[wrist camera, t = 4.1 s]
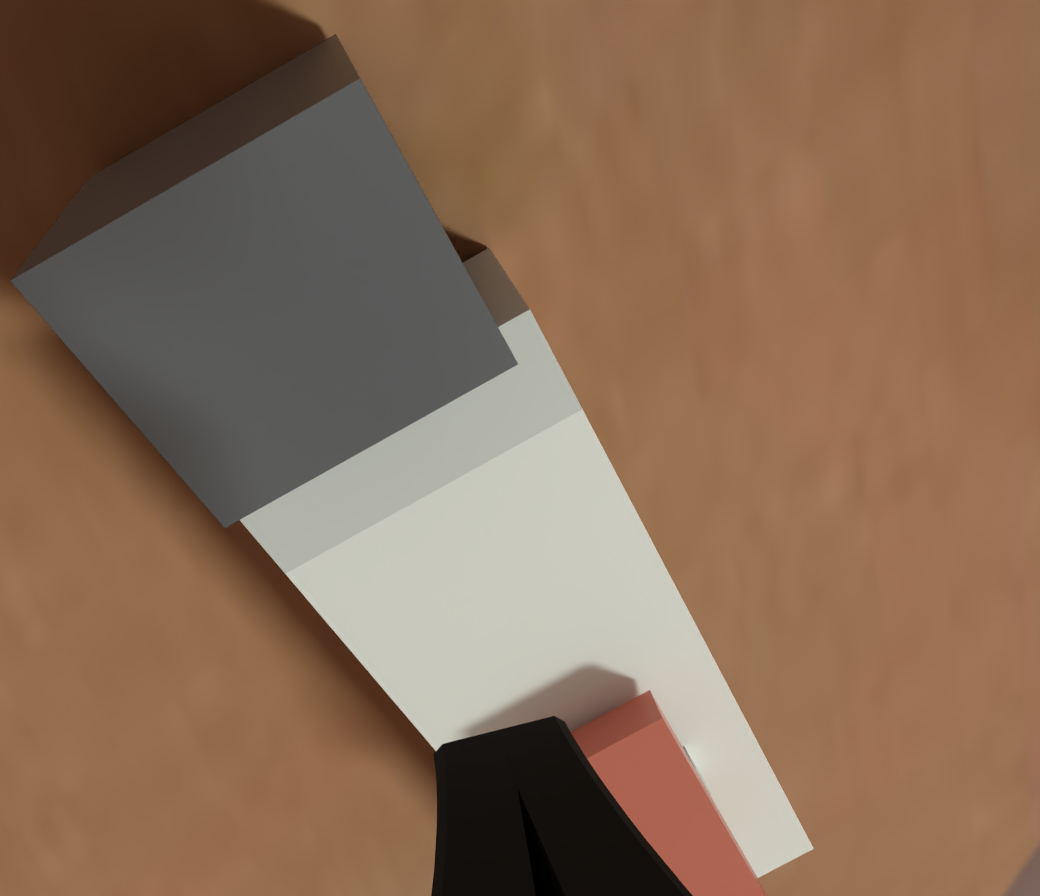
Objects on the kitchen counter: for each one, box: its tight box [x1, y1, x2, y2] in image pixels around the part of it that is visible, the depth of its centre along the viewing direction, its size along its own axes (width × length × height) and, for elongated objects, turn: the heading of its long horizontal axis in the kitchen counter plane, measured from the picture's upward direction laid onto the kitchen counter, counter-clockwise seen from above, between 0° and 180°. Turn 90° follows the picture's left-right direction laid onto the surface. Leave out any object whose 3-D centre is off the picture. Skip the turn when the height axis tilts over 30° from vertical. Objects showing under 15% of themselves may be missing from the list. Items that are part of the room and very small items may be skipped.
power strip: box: [240, 248, 813, 878], centre depth 20 cm, size 16×6×4 cm, turn 26°
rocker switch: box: [571, 690, 768, 896], centre depth 19 cm, size 6×3×1 cm, turn 26°
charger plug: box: [10, 34, 518, 528], centre depth 14 cm, size 6×4×5 cm
